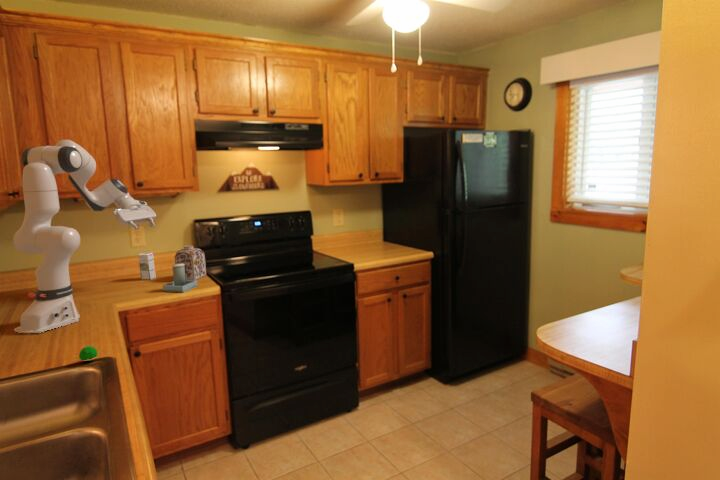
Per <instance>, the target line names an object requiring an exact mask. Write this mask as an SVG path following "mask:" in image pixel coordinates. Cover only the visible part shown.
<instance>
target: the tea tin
mask: <svg viewBox="0 0 720 480" xmlns="http://www.w3.org/2000/svg"><path fill="white" fill-rule="evenodd" d="M184 265H185V264H182V263H180V264H175V263H174V264H172V265H171V266H172V275H173V281H174V286H183V285H186V278H185V267H184Z"/></svg>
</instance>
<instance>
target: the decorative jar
mask: <svg viewBox="0 0 720 480" xmlns="http://www.w3.org/2000/svg"><path fill="white" fill-rule="evenodd" d="M180 263H182V264H185V265H184V267H185V278H186V280H197V281H198V280H199V279H201V278H204V277H206V276H207V268H206V267H207V266H206V265H207V263H206V256H205V252H204V250H202V249H201V248H198V247H194V246H193V245H191V244H190V245H184V247H183V248H181V249H179V250H177V252H176V253H175V255H174V264H180Z"/></svg>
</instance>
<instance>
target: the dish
mask: <svg viewBox="0 0 720 480" xmlns="http://www.w3.org/2000/svg"><path fill="white" fill-rule="evenodd" d="M198 286H199V285H198V279H197V280H186V285H183V286H174V280H173V281H171V282H168V283H165V284H163V285H162V291H163V292H167V293H169V292H170V293H185V292H188V291H190V290H193V289H195V288H196V287H197V288H198Z"/></svg>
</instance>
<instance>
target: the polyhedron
mask: <svg viewBox="0 0 720 480" xmlns="http://www.w3.org/2000/svg"><path fill="white" fill-rule="evenodd" d="M98 353H99V352H98V349H97V348H96V347H95V346H91V345H89V346H88V345H87V346H85V347H83V348H82V349H81V350H80V351H79V355H78V356H79V357H78V358H79V359H80V360H81V361H82V360H87V359H92V358H94V357H96V356H98V355H99V354H98ZM96 358H97V357H96Z"/></svg>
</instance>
